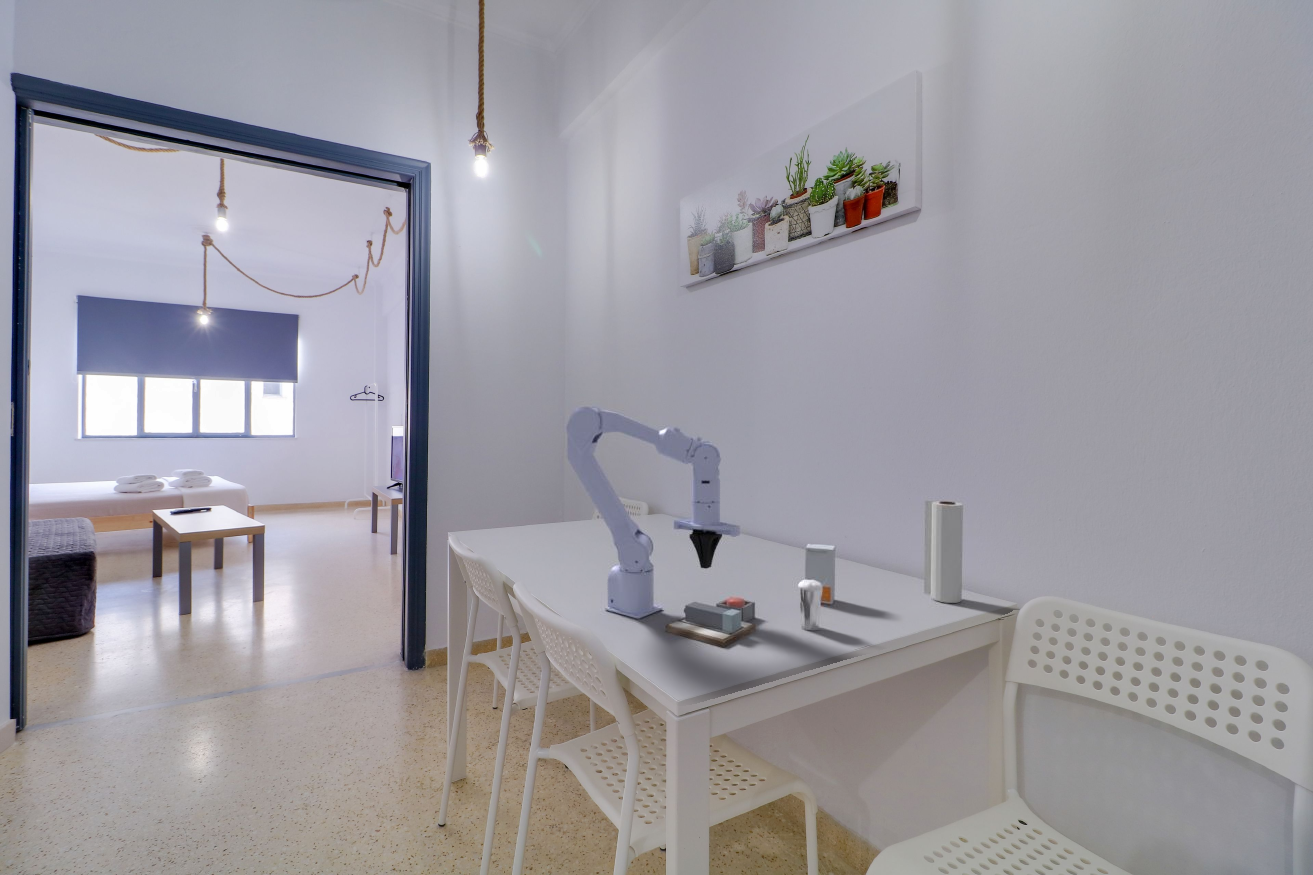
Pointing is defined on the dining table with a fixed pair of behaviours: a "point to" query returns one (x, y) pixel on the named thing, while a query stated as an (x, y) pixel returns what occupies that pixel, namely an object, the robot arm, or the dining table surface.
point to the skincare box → (821, 569)
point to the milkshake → (810, 603)
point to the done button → (736, 602)
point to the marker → (713, 616)
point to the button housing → (741, 609)
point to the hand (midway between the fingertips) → (705, 567)
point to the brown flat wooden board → (708, 632)
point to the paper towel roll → (943, 550)
